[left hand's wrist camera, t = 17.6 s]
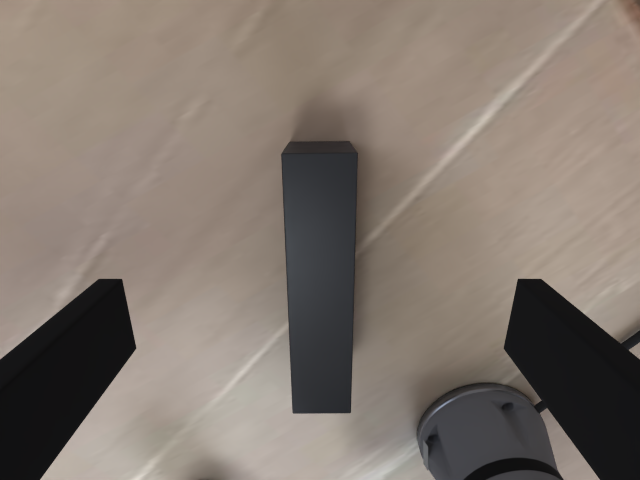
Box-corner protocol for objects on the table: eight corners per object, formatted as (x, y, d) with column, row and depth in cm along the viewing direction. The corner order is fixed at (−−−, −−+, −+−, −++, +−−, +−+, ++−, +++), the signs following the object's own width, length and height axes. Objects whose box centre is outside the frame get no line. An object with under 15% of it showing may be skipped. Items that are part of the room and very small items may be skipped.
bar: (289, 141, 35) (281, 153, 28) (349, 141, 35) (357, 152, 28) (297, 360, 44) (292, 413, 37) (345, 360, 44) (350, 413, 37)
